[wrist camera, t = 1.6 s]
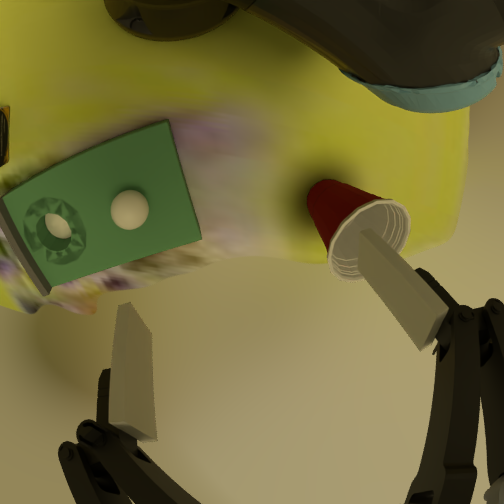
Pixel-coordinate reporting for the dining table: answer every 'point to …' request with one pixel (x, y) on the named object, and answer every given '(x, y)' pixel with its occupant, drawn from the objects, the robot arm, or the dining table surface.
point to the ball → (129, 209)
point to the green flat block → (99, 208)
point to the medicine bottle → (4, 135)
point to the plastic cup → (354, 223)
